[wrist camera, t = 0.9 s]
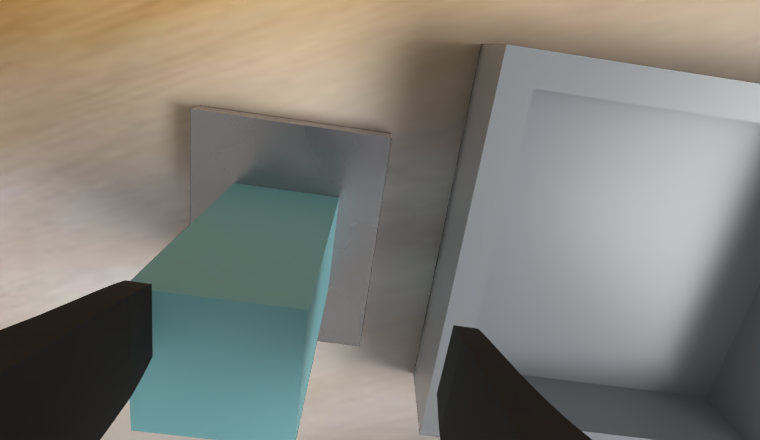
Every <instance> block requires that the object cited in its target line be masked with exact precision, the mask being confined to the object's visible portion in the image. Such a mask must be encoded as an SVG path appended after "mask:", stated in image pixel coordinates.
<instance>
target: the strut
mask: <svg viewBox="0 0 760 440" xmlns="http://www.w3.org/2000/svg"><path fill="white" fill-rule="evenodd" d="M338 204H339V197H332V196H324V195H317V194H310V193H303V192H295V191H288V190H281V189H274V188H266V187H259V186H252V185H245V184H237V183H234V184H233V185H231V186H230V187H229V188H228V189H227V190H226V191H225V192H224V193H223V194H222V195H221V196H220V197H219V198H218V199H217V200H216V201H215V202H213V203H212V204H211V205H210V206H209V207H208V208H207V209H206V210H205V211H204V212H203V213H202V214H201V215H200V216H199V217H198V218H196V219H195V220H194V221H193V222H192V223H191V224H190V225H189V226H188V227H187V228H186V229H185V230H184V231H183V232H182V233H181V234H180V235H178V236H177V237H176V238H175V239H174V240H173V241H172V242H171V243H170V244H169V245H168V246H167V247H166V248H165V249H164V250H163V251H162V252H160V253H159V254H158V255H157V256H156V257H155V258H154V259H153V260H152V261H151V262H150V263H149V264H148V265H147V266H146V267H145V268H144V269H142V270H141V271H140V272H139V273H138V274H137V275H136V276H135V277H134V278H133V279H132V280H131V281H133V282H141V283H148V284H152V345H153V357H152V359H151V361H150V363H149V365H148V367H147V369H146V371H145V373H144V375H143V377H142V378H141V380H140V382H139V384H138V386H137V387H136V389H135V391H134V393H133V395H132V396H131V398H130V399H129V400H130V420H131V431H140V432H149V433H158V434H167V435H176V436H185V437H194V438H203V439H212V440H296V437H297V432H298V428H299V423H300V418H301V414H302V409H303V404H304V400H305V395H306V390H307V386H308V381H309V376H310V372H311V367H312V362H313V358H314V353H315V349H316V344H317V339H318V335H319V330H320V325H321V321H322V316H323V311H324V307H325V302H326V297H327V293H328V287H329V278H330V270H331V262H332V254H333V245H334V237H335V229H336V220H337V212H338Z"/></svg>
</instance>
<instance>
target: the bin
mask: <svg viewBox="0 0 760 440" xmlns="http://www.w3.org/2000/svg"><path fill="white" fill-rule="evenodd" d="M453 325H455V326H463V327H470V328H477V329H479V330H480V331H481V332H482V333H483V334H484V335H485V336H486V337H487V338H488V339H489V340H490V341H491V342H492V344H493V345H494V346H495V347H496V348H497V349H498V350H499V351H500V352H501V353H502V354H503V356H504V357H505V358H506V359H507V360H508V361H509V362H510V363H511V364H512V365H513V366H514V368H515V369H516V370H517V371H518V372H519V373H520V374H521V375H522V376H523V377H524V378H525V379H526V380H527V381H528V382H529V383H530V384H531V385H532V386H533V387H534V388H535V389H536V390H537V391H538V392H539V393H540V394H541V395H542V396H543V397H544V398H545V399H546V400H547V401H548V402H549V403H550V404H551V405H552V406H554V407H555V408H556V409H557V410H558V411H559V412H560V413H561V414H562V415H563V416H564V417H566V418H567V419H568V420H569V421H570V422H571V423H572V424H574V425H575V426H576V427H577V428H578V429H580V430H581V431H582V432H583V433H585V434H586V435H587V436H588V437H590V438H591V439H592V440H760V84H758V83H752V82H745V81H739V80H732V79H726V78H720V77H713V76H707V75H700V74H694V73H688V72H681V71H675V70H669V69H662V68H656V67H649V66H643V65H637V64H630V63H624V62H617V61H611V60H605V59H598V58H592V57H586V56H579V55H573V54H566V53H560V52H554V51H547V50H541V49H534V48H528V47H522V46H515V45H509V44H481V49H480V54H479V59H478V63H477V68H476V73H475V78H474V83H473V88H472V93H471V97H470V102H469V107H468V112H467V117H466V122H465V127H464V131H463V136H462V141H461V146H460V151H459V156H458V161H457V166H456V170H455V175H454V180H453V185H452V190H451V195H450V200H449V204H448V209H447V214H446V219H445V224H444V229H443V234H442V239H441V243H440V248H439V253H438V258H437V263H436V268H435V273H434V277H433V282H432V287H431V292H430V297H429V302H428V307H427V311H426V316H425V321H424V326H423V331H422V336H421V341H420V346H419V350H418V355H417V360H416V365H415V370H414V383H415V393H416V403H417V413H418V423H419V433H420V435H427V436H436V437H440V433H439V421H438V406H437V390H438V386H439V382H440V378H441V374H442V370H443V366H444V362H445V358H446V354H447V350H448V346H449V342H450V337H451V333H452V329H453Z"/></svg>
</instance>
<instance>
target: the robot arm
mask: <svg viewBox="0 0 760 440" xmlns="http://www.w3.org/2000/svg"><path fill="white" fill-rule="evenodd" d="M152 357H153V345H152V284H148V283H141V282H133V281H126V280H125V281H122V282H119V283H116V284H113V285H111V286H108V287H105V288H103V289H101V290H98V291H96V292H93V293H91V294H88V295H86V296H84V297H81V298H79V299H77V300H74V301H72V302H70V303H67V304H65V305H62V306H60V307H58V308H55V309H53V310H50V311H48V312H46V313H43V314H41V315H38V316H36V317H33V318H31V319H28V320H26V321H23V322H20V323H18V324H15V325H13V326H10V327H7V328H5V329H2V330H0V440H101V438H102V437H103V435H104V434H105V433H106V431H107V430H108V429H109V427H110V426H111V424H112V423H113V422H114V420H115V419H116V417H117V416H118V415H119V413H120V412H121V410H122V409H123V408H124V406H125V405H126V403H127V402H128V400H129V399H130V398H131V396H132V395H133V393H134V391H135V389H136V387H137V386H138V384H139V382H140V380H141V378H142V377H143V375H144V373H145V371H146V369H147V367H148V365H149V363H150V361H151V359H152ZM437 406H438V421H439V433H440V439H441V440H592V439H591V438H590V437H588V436H587V435H586V434H585V433H583V432H582V431H581V430H580V429H578V428H577V427H576V426H575V425H574V424H572V423H571V422H570V421H569V420H568V419H567V418H566V417H564V416H563V415H562V414H561V413H560V412H559V411H558V410H557V409H556V408H555V407H554V406H552V405H551V404H550V403H549V402H548V401H547V400H546V399H545V398H544V397H543V396H542V395H541V394H540V393H539V392H538V391H537V390H536V389H535V388H534V387H533V386H532V385H531V384H530V383H529V382H528V381H527V380H526V379H525V378H524V377H523V376H522V375H521V374H520V373H519V372H518V371H517V370H516V369H515V368H514V366H513V365H512V364H511V363H510V362H509V361H508V360H507V359H506V358H505V357H504V356H503V354H502V353H501V352H500V351H499V350H498V349H497V348H496V347H495V346H494V345H493V344H492V342H491V341H490V340H489V339H488V338H487V337H486V336H485V335H484V334H483V333H482V332H481V331H480V330H479V329H477V328H470V327H463V326H455V325H453V329H452V333H451V337H450V342H449V346H448V350H447V354H446V358H445V362H444V366H443V370H442V374H441V378H440V382H439V386H438V390H437Z"/></svg>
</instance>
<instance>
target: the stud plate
mask: <svg viewBox="0 0 760 440" xmlns="http://www.w3.org/2000/svg"><path fill="white" fill-rule="evenodd" d="M391 139H392V136H391V133H384V132H377V131H370V130H363V129H357V128H350V127H343V126H336V125H329V124H322V123H315V122H308V121H302V120H295V119H288V118H281V117H274V116H267V115H260V114H253V113H247V112H240V111H233V110H226V109H219V108H212V107H205V106H198V107H195V108H192V109H191V158H190V224H191V223H192V222H193V221H194V220H195V219H196V218H198V217H199V216H200V215H201V214H202V213H203V212H204V211H205V210H206V209H207V208H208V207H209V206H210V205H211V204H212V203H213V202H215V201H216V200H217V199H218V198H219V197H220V196H221V195H222V194H223V193H224V192H225V191H226V190H227V189H228V188H229V187H230V186H231V185H233V184H234V183H237V184H245V185H252V186H259V187H266V188H274V189H281V190H288V191H295V192H303V193H310V194H317V195H324V196H332V197H339V204H338V212H337V220H336V229H335V237H334V245H333V254H332V262H331V270H330V278H329V287H328V293H327V297H326V302H325V307H324V311H323V316H322V321H321V325H320V330H319V335H318V339H317V341H322V342H331V343H339V344H347V345H355V346H360V341H361V334H362V328H363V321H364V315H365V308H366V302H367V295H368V289H369V282H370V276H371V269H372V263H373V256H374V250H375V243H376V237H377V230H378V224H379V217H380V211H381V204H382V198H383V191H384V185H385V178H386V172H387V165H388V159H389V152H390V146H391Z"/></svg>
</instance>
